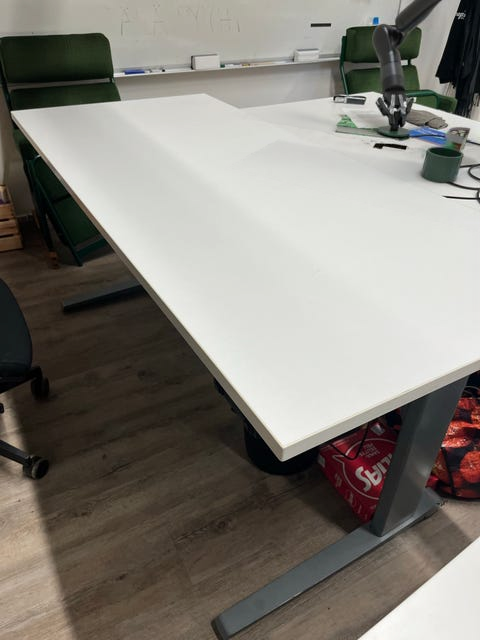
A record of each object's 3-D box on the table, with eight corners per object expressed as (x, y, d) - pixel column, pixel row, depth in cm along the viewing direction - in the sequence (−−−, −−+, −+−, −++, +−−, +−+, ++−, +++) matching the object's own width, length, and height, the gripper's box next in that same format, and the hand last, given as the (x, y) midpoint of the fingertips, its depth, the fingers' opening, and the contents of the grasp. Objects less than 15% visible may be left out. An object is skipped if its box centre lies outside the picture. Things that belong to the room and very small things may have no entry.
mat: (408, 144, 173) (408, 143, 173) (404, 153, 165) (404, 152, 164) (377, 140, 176) (378, 139, 176) (372, 148, 168) (372, 147, 168)
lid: (411, 132, 170) (416, 110, 166) (407, 140, 162) (412, 117, 158) (380, 127, 174) (384, 106, 169) (374, 135, 165) (379, 113, 161)
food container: (442, 154, 164) (451, 124, 158) (460, 158, 161) (470, 127, 155) (434, 165, 155) (443, 133, 149) (453, 169, 153) (463, 137, 147)
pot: (456, 174, 149) (464, 150, 145) (455, 184, 141) (463, 159, 137) (422, 168, 152) (428, 144, 148) (419, 178, 144) (425, 154, 140)
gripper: (377, 72, 162) (382, 120, 160) (416, 73, 164) (422, 120, 162) (369, 86, 170) (373, 132, 167) (406, 87, 171) (411, 132, 169)
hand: (397, 126), depth 164 cm, fingers closed on lid, 3 cm apart
